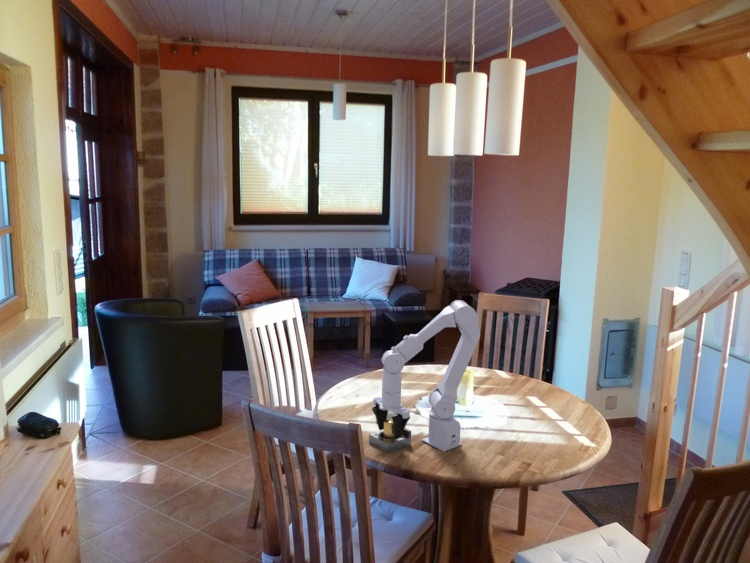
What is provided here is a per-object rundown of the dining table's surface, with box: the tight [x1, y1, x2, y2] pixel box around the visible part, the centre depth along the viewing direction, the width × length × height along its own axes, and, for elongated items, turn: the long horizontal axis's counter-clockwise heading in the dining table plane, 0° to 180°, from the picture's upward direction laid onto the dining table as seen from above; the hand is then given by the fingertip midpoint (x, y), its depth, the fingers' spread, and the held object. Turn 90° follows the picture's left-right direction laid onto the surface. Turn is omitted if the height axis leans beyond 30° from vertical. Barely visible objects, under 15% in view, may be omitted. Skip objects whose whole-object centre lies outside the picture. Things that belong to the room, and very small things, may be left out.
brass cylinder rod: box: [383, 419, 396, 439], centre depth 181 cm, size 4×4×7 cm
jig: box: [368, 427, 412, 453], centre depth 181 cm, size 9×9×4 cm
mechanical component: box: [375, 411, 397, 423], centre depth 198 cm, size 10×4×10 cm
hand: (390, 433), depth 181 cm, fingers open, 7 cm apart
